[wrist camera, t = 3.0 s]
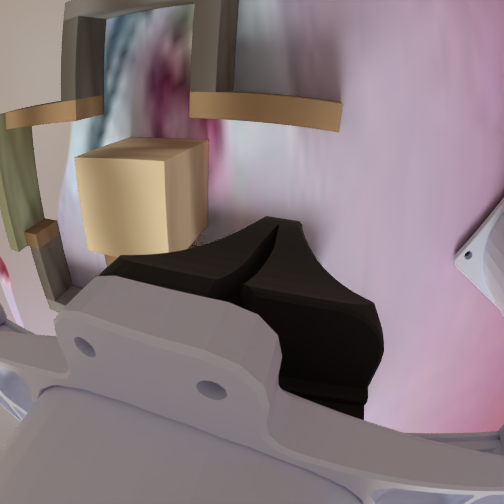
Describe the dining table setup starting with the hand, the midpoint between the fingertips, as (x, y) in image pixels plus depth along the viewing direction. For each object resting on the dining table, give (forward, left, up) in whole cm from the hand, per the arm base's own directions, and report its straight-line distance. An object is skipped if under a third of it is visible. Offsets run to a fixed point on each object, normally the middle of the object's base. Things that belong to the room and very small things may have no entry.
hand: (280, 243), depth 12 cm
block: (+3, -7, -6) cm, 9 cm away
